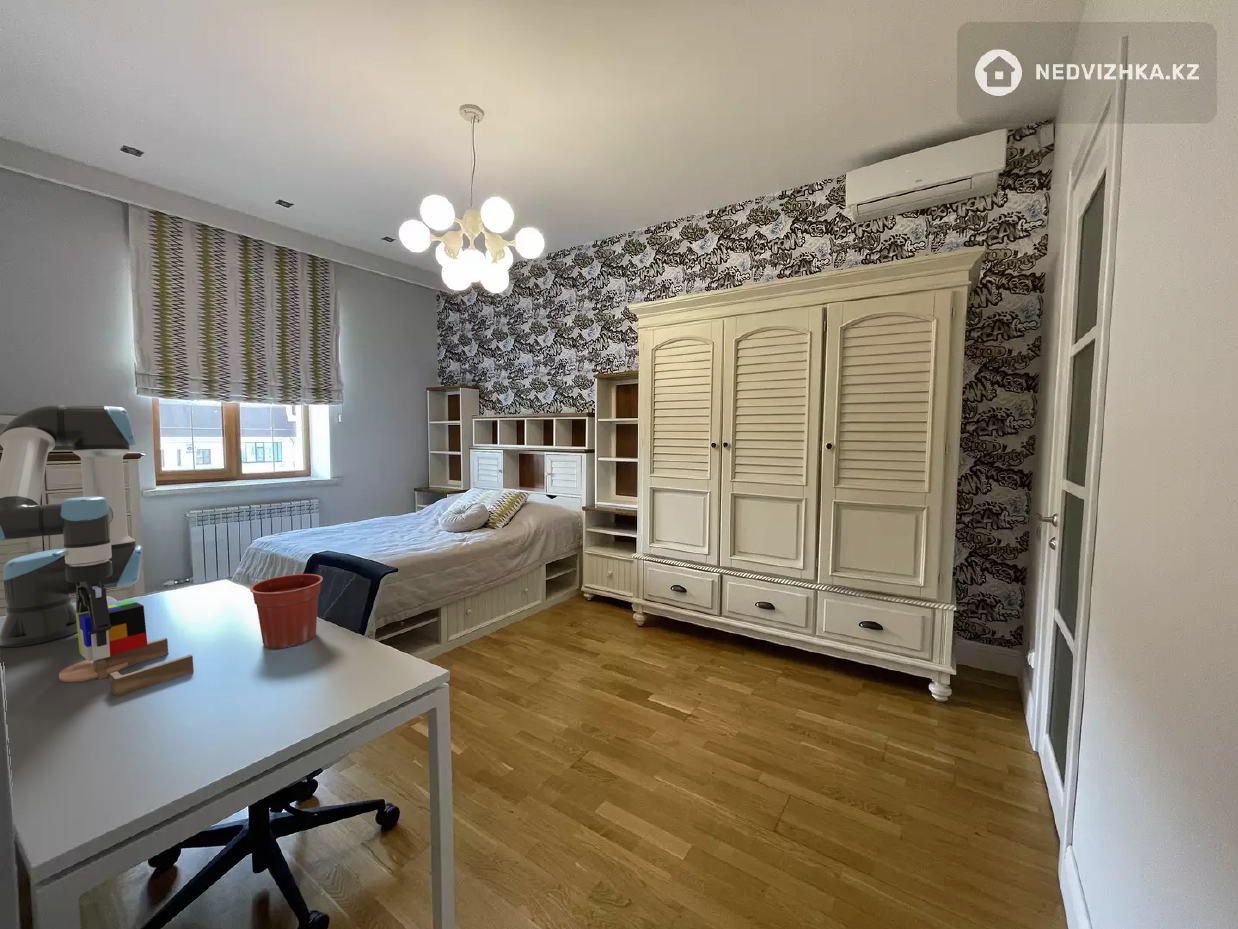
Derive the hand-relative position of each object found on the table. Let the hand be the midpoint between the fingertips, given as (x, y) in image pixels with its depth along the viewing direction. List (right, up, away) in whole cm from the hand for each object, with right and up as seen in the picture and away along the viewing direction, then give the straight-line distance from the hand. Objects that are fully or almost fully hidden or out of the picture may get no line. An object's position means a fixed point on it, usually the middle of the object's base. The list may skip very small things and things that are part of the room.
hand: (95, 652), depth 117 cm
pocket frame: (+13, -4, -1) cm, 14 cm away
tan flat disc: (0, -4, 0) cm, 4 cm away
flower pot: (+36, -3, +17) cm, 39 cm away
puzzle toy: (+2, 0, +3) cm, 3 cm away
